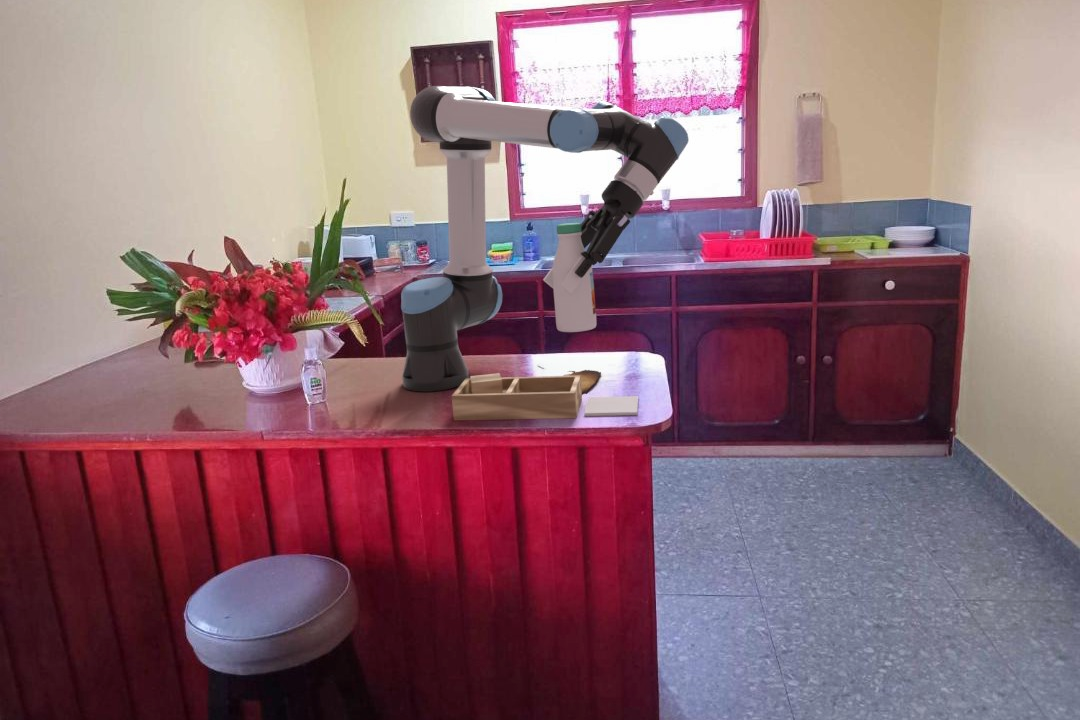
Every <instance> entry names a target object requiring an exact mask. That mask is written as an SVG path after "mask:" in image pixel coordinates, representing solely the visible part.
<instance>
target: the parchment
mask: <svg viewBox="0 0 1080 720" xmlns="http://www.w3.org/2000/svg"><path fill="white" fill-rule="evenodd" d="M568 372H570V373H568ZM577 375H581V391H582V396H583V395H585V394H587V393H588V391H589V389H591V388H592V386H594V385H595V384H596V383H597V382H598V379H599V377H600V376H601V375H602V372H601V371H598V370H592V369H591V370H590V369H584V370H581V371H576V370H569V371H567V373H566V374H564V375H562V376H577Z"/></svg>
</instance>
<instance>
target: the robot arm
mask: <svg viewBox="0 0 1080 720" xmlns="http://www.w3.org/2000/svg"><path fill="white" fill-rule="evenodd" d="M409 117H410V122H411V124H412V127H413V129H414V131H415V133H417V134H418V135H419V136H420V137H421V138H422V139H424V140H426V141H429V142H432V143H439V151H440V152H441V153H442V154H443V156H445V158H446V176H447V177H446V179H447V181H446V182H447V185H446V186H447V214H448V215H447V216H448V218H447V219H448V252H449V253H448V254H449V255H448V257H449V258H448V261H449V262H448V264H447V265H446V266H445V267H444V268H443V269H442V273H443V274H442V275H443V276H437V277H436V276H434V277H429V278H425V279H424V278H423V279H419V280H415V281H413V282H411V283H408V284H407V285H406V286H404V287H403V288H402V290H401V293H400V295H401V296H400V299H401V303H400V309H401V314H402V321H403V329H404V337H405V344H406V345H405V346H406V358H405V362H404V365H403V369H402V370H403V371H402V377H401V378H402V379H401V380H402V385H403V386H402V387H403V388H404V389H406V390H409V391H414V392H437V391H446V390H449V389H453V388H454V389H455V388H459V386H460V385H461V384H462V383H463V381H464V380H465V379H470V376H469V375H470V374H469V368H468V366H467V365H466V364H467V363H466V362H465V359H464V358H463V355H462V352H461V351H460V348H459V342H458V340H459V339H458V331H461V330H463V329H466V328H469V327H474V326H478V325H481V324H483V323H485V322H487V321H489V320H491V319H492V318H494V317H495V316H496V315H497V314H498V313H499V310H500V308H501V306H502V303H503V291H502V286H501V284H499V283H498V282H499V281H498V280H497V278H496V277H495V276H494V275H493V268H492V267H491V266H490V265H489V264H488V263H487V246H486V245H487V243H486V241H487V240H486V238H487V237H486V235H487V233H486V230H487V229H486V227H487V225H486V158H487V156H488V155H489V153H491V152H492V142H498V143H506V144H515V145H524V146H533V147H543V148H551V149H559V150H560V151H562V152H565V153H571V154H572V153H575V154H576V153H577V154H579V153H583V152H590V151H591V152H592V151H594V152H595V151H608V150H611V151H614V152H616V153H618V154H620V155H622V156H624V157H626V158H627V159H626V160H625V162H624V163H623V164H622V165H621V167H620V168H619V170H618V171H617V172H616V174H615V175H614V178H613V179H614V180H611V181H610V182H609V183H608V185H607V186H606V187H605V189H604V190H603V191H602V193H601V199H602V200H603V206H601V207H600V208H598V209H597V210H596V212H595V211H594V210H590V211H589V212H588V214H587V215H586V217H585V218H584V220H583V221H582V222H581V223H580V224H581V233H582V234H581V241H582V244H583V247H584V249H585V252H582V253H581V255H582V256H583V257H585V259H584V258H583V257H581V256H580V258H579V259H578V260H577V262H576V263H575V264H574V266H573V267H572V268H571V270H570V271H569V272H568V274H567V275H566V276H565V278H564V279H563V280H562V282H561V283H560V284H559V285H560V286H562V287H563V288H564V289H565V290H566V291H567V292H569V293H570V294H572V292H573V291H574V290H575V288H576V287H577V286H578V284H579V283H580V282H581V280H582V279H583V278H584V276H585V275H586V274H587V272H588V271H589V270H590V268H591V267H592V268H593V266H595V265H596V264H597V263H599V264H602V263H603V262H604V260H605V259H606V257H607V256H608V254H609V253H610V251H611V250H612V248H613V247H614V245H615V243H616V242H617V240H618V239H619V237H620V236H621V234H622V233H623V231H624V230H625V229H626V228H627V227H628V225H629V224H630V223H631V220H632V219H633V218H635V216H636V215H637V214H638V212H639V211H640V209H641V208H642V206H643V205H644V203H643V202H646V201H647V200H648V198H649V197H650V196H653V194H654V193H655V192H654V190H656V188H657V187H658V185H659V184H660V182H661V180H662V179H664V177H665V176H666V174H667V173H668V171H670V170H671V168H672V166H673V165H674V164H675V163H676V162H677V161H678V160H679V158H680V156H681V155H682V153H683V152H684V151H685V150H684V149H685V148H686V147H687V145H688V143H689V135H688V132H687V130H686V129H685V128H684V127H683V125H682V124H681V123H680V122H679V121H677V120H675V119H674V118H672V117H669V116H668V117H666V116H660V117H658V119H656V121H654V122H653V123H651V122H649V121H647V120H643V119H641V118H639V117H638V116H636V115H634V114H632V113H630V112H628V111H626V110H625V109H623V108H621V107H620V106H618V105H617V104H612V103H609V102H607V101H599V102H597V103H596V104H595V105H593V106H592V107H591V108H580V107H579V108H578V107H577V108H576V107H567V106H566V107H565V106H563V107H562V106H553V105H552V106H551V105H542V104H541V105H540V104H528V103H520V102H519V103H517V102H516V103H515V102H504V101H497V100H496V98H494V97H493V95H492V94H491V93H490V92H489V91H487V90H485V89H483V88H478V87H474V86H446V85H445V86H444V85H433V86H428V87H425V88H423V89H422V90H421V91H419V92H418V93H417V94H416V95H415V97H414V98H413V100H412V102H411V105H410V110H409ZM552 268H553V266H552ZM552 268H550V270H549V271H548V272H547V274H546V275H545V276H544V277H543V279H542V280H543V282H544V283H546V284H547V285H548V286H549V287H550V288H552V289H553V275H552Z"/></svg>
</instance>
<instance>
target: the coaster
mask: <svg viewBox="0 0 1080 720" xmlns="http://www.w3.org/2000/svg"><path fill="white" fill-rule="evenodd" d="M638 408H639V395H632V396H631V395H630V396H626V395H625V396H594V397H593V396H592V397H591V396H589V397H588V398H587V402H586V406H585V410H584V417H601V416H603V417H606V416H610V417H611V416H612V417H613V416H638Z"/></svg>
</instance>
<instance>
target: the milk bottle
mask: <svg viewBox="0 0 1080 720" xmlns="http://www.w3.org/2000/svg"><path fill="white" fill-rule="evenodd" d="M556 233H557V234H556V235H557V238H558V243H557V244H558V245H557V249H556V251H555V255H554V259H553V262H552V267H553V268H552V275H553V288H552V289H553V291H552V292H553V299H554V300H553V301H554V312H555V313H554V314H555V324H556V329H557V330H558V332H561V333H562V332H563V333H579V332H585V331H586V332H587V331H590V330H593V329H595V328H596V327H597V308H596V299H595V298H596V295H595V283H594V274H593V273H594V272H593V266H592V267H591V268H590V270H589V271H588V272H587V274H586V275H585V276H584V278H583V279H582V280H581V282H580V283H579V284H578V286H577V287H576V288H575V290H574V291H573V292H572V294H570V293H569V292H567V291H566V290H565V289H564V288H563V287H562V286H560V285H559V284H560V283H561V282H562V280H563V279H564V278H565V276H566V275H567V274H568V272H569V271H570V270H571V268H572V267H573V266H574V264H575V263H576V262H577V260H578V259H579V258H580V256H581V257H583V256H582V255H581V253H582V252H585V251H586V248H585V249H584V247H583V244H582V241H581V234H582V233H581V223H580V222H568V223H560V224H557V225H556ZM583 258H584V259H585V257H583Z"/></svg>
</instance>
